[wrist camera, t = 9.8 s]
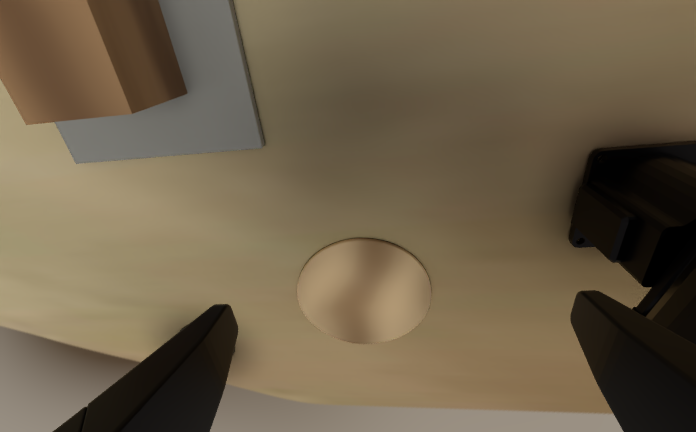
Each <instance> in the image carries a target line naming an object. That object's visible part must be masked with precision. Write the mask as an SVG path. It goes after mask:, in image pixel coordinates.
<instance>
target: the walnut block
mask: <svg viewBox="0 0 696 432" xmlns="http://www.w3.org/2000/svg"><path fill="white" fill-rule="evenodd" d="M0 78H1V80H2V82H3V84H4V86H5V87H6V89H7V91H8V93H9V95H10V96H11V98H12V100H13V102H14V104H15V105H16V107H17V109H18V111H19V113H20V114H21V116H22V118H23V120H24V122H25V123H26V125H30V124H40V123H49V122H59V121H69V120H79V119H89V118H98V117H108V116H118V115H128V114H134V113H137V112H139V111H142V110H145V109H147V108H150V107H153V106H156V105H158V104H161V103H164V102H166V101H169V100H172V99H175V98H177V97H180V96H183V95H186V94H188V93H187V90H186V86H185V83H184V80H183V77H182V74H181V71H180V67H179V64H178V61H177V58H176V55H175V52H174V48H173V45H172V42H171V39H170V36H169V33H168V29H167V26H166V23H165V20H164V17H163V14H162V10H161V7H160V4H159V1H158V0H0Z"/></svg>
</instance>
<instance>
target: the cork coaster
mask: <svg viewBox="0 0 696 432" xmlns="http://www.w3.org/2000/svg"><path fill="white" fill-rule="evenodd" d="M297 297H298V302H299V305H300V307H301V309H302V311H303V313H304V315H305V316H306V318H307V319H308V320H309V321H310V322H311V323H312V324H313V325H314V326H315V327H316V328H318V329H319V330H321V331H322V332H324V333H325V334H327V335H329V336H331V337H334V338H336V339H339V340H342V341H346V342H351V343H358V344H375V343H382V342H387V341H390V340H394V339H396V338H399V337H401V336H403V335H405V334H407V333H408V332H410V331H411V330H413V329H414V328H415V327H416V326H417V325H418V324H419V323H420V322H421V321H422V320H423V318H424V317H425V315H426V314H427V312H428V310H429V307H430V303H431V297H432V292H431V285H430V281H429V277H428V275H427V273H426V270H425V269H424V267H423V266H422V264H421V263H420V262H419V261H418V260H417V259H416V258H415V257H414V256H413V255H412V254H411V253H409V252H408V251H406V250H405V249H403V248H401V247H399V246H397V245H395V244H392V243H389V242H386V241H382V240H378V239H369V238H356V239H347V240H343V241H339V242H336V243H333V244H331V245H329V246H327V247H325V248H323V249H321V250H320V251H318V252H317V253H316V254H314V255H313V256H312V257H311V258H310V259H309V261H308V262H307V263H306V264H305V266H304V268H303V269H302V272H301V274H300V277H299V280H298V285H297Z"/></svg>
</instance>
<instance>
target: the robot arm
mask: <svg viewBox="0 0 696 432" xmlns="http://www.w3.org/2000/svg"><path fill="white" fill-rule="evenodd" d="M601 155H603V158H602V159H601V160H600V161H598V158H599V157H600V156H601ZM571 222H572V228H571V232H570V236H569V241H570V243H571V244H572V245H573V246H574V247H577V248H582V247H596V248H597V249H598V250H599V251H600V252H601V253H602V254H604V255H605V256H606V257H607V258H608V259H609V260H610V261H611V262H613V263H615V262H618V263H619V264H620V265H621V266H622V267H623V268H624V269H625V270H626V271H627V272H628V273H630V274H631V275H632V276H633V277H634V278H635V279H636V280H637V281H638V282H639V283H640V284H641V285H642V286H643V287H652V288H651V289H650V291H649V292H648V293H647V295H646V296H645V297H644V298H643V300H642V301H641V302H640V303H639V305H638V306H637V307H633V308H632V309H630V308H628V307H627V306H625V305H623V304H621V303H619V302H618V301H616V300H614V299H612V298H610V297H609V296H607V295H605V294H603V293H601V292H599V291H595V290H592V291H580V292H578V293H577V295H576V298H575V301H574V305H573V308H572V312H571V324H572V326H573V329H574V331H575V333H576V336H577V338H578V340H579V343H580V345H581V348H582V350H583V352H584V355H585V357H586V359H587V362H588V364H589V366H590V369H591V371H592V373H593V375H594V378H595V380H596V382H597V384H598V386H599V388H600V390H601V392H602V394H603V395H604V397H605V399H606V401H607V403H608V404H609V406H610V408H611V410H612V412H613V413H614V415H615V417H616V419H617V420H618V422H619V424H620V426H621V427H622V430H623V431H624V432H696V141H692V142H679V143H666V144H653V145H640V146H626V147H613V148H600V149H597V150H595V151H593V152H592V153H591V154H590V157H589V160H588V164H587V168H586V172H585V176H584V180H583V184H582V186H581V187H580V189H579V193H578V197H577V201H576V205H575V209H574V213H573V217H572V221H571ZM579 238H581V239H580V240H579V241H577V239H579ZM237 335H238V325H237V322H236V319H235V317H234V314H233V311H232V308H231V306H230V305H228V304H216V305H213V306H212V307H210V308H209V309H208V310H207V311H205V312H204V313H203V314H201V315H200V316H199V317H198V318H196V319H195V320H194V321H193V322H191V323H190V324H189V325H188V326H186V327H185V328H184V329H183V330H181V331H180V332H179V333H177V334H176V335H175V336H174V337H172V338H171V339H170V340H169V341H167V342H166V343H165V344H164V345H162V346H161V347H160V348H159V349H157V350H156V351H155V352H153V353H152V354H151V355H150V356H148V357H147V358H146V359H145V360H143V361H142V362H141V363H140V364H139V365H137V366H136V367H135V368H133V369H132V370H131V371H129V372H128V373H127V374H126V375H124V376H123V377H122V378H121V379H119V380H118V381H117V382H116V383H115V384H113V385H112V386H110V387H109V388H108V389H107V390H106V391H104V392H103V393H102V394H101V395H99V396H98V397H97V398H95V399H94V400H93V401H92V402H90V403H89V404H88V406H87V407H84V408H83V409H81V410H80V411H79V412H78V413H76V414H75V415H74V416H72V418H70V419H69V420H67V421H66V422H65V423H63V424H62V425H61V426H60V427H58V428H57V429H56V430H54V431H53V432H210V429H211V426H212V423H213V420H214V418H215V415H216V412H217V409H218V406H219V403H220V400H221V398H222V394H223V391H224V388H225V385H226V381H227V377H228V373H229V368H230V364H231V360H232V356H233V352H234V347H235V343H236V339H237Z"/></svg>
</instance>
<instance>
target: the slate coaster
mask: <svg viewBox="0 0 696 432" xmlns="http://www.w3.org/2000/svg"><path fill="white" fill-rule="evenodd" d="M158 1H159V4H160V7H161V10H162V14H163V17H164V20H165V23H166V26H167V29H168V33H169V36H170V39H171V42H172V45H173V48H174V52H175V55H176V58H177V61H178V64H179V67H180V71H181V74H182V77H183V80H184V83H185V86H186V90H187V93H188V94H186V95H183V96H180V97H177V98H175V99H172V100H169V101H166V102H164V103H161V104H158V105H156V106H153V107H150V108H147V109H145V110H142V111H139V112H137V113H134V114H128V115H118V116H108V117H98V118H89V119H79V120H69V121H59V122H55V124H56V126H57V128H58V130H59V132H60V134H61V136H62V137H63V139H64V141H65V143H66V145H67V147H68V149H69V151H70V153H71V155H72V157H73V159H74V161H75V163H76V164H79V163H91V162H103V161H115V160H127V159H139V158H151V157H163V156H175V155H187V154H199V153H211V152H223V151H235V150H247V149H259V148H263V147H264V146H265V143H264V139H263V134H262V130H261V125H260V121H259V116H258V112H257V107H256V103H255V99H254V94H253V90H252V85H251V81H250V76H249V72H248V67H247V63H246V59H245V54H244V50H243V45H242V41H241V36H240V32H239V27H238V23H237V18H236V14H235V10H234V5H233V1H232V0H158Z"/></svg>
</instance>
